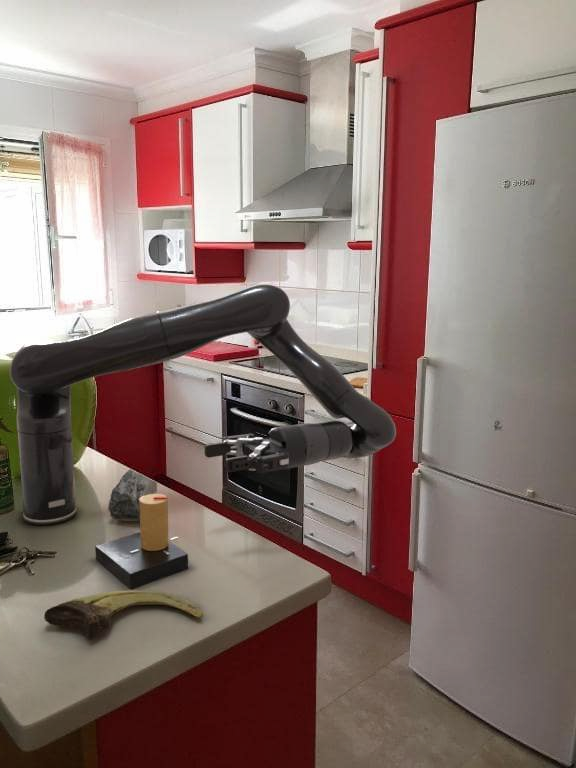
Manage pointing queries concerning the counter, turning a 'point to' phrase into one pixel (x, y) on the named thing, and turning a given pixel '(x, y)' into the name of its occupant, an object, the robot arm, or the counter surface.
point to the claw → (109, 609)
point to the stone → (130, 496)
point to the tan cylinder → (154, 522)
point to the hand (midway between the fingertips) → (215, 458)
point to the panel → (139, 560)
